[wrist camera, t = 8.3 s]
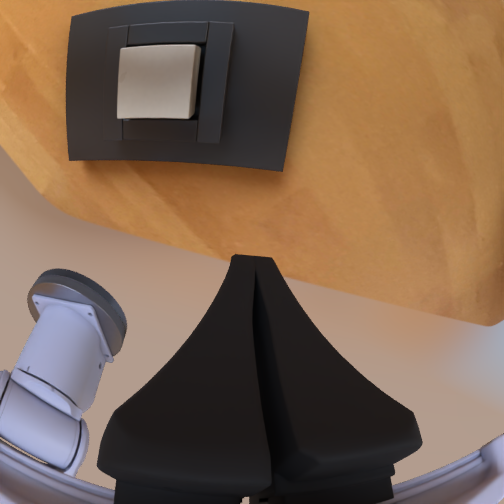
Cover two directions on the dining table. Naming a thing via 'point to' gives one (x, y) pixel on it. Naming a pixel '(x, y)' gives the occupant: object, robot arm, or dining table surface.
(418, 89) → the dining table surface
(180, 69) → the ivory key
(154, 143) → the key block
